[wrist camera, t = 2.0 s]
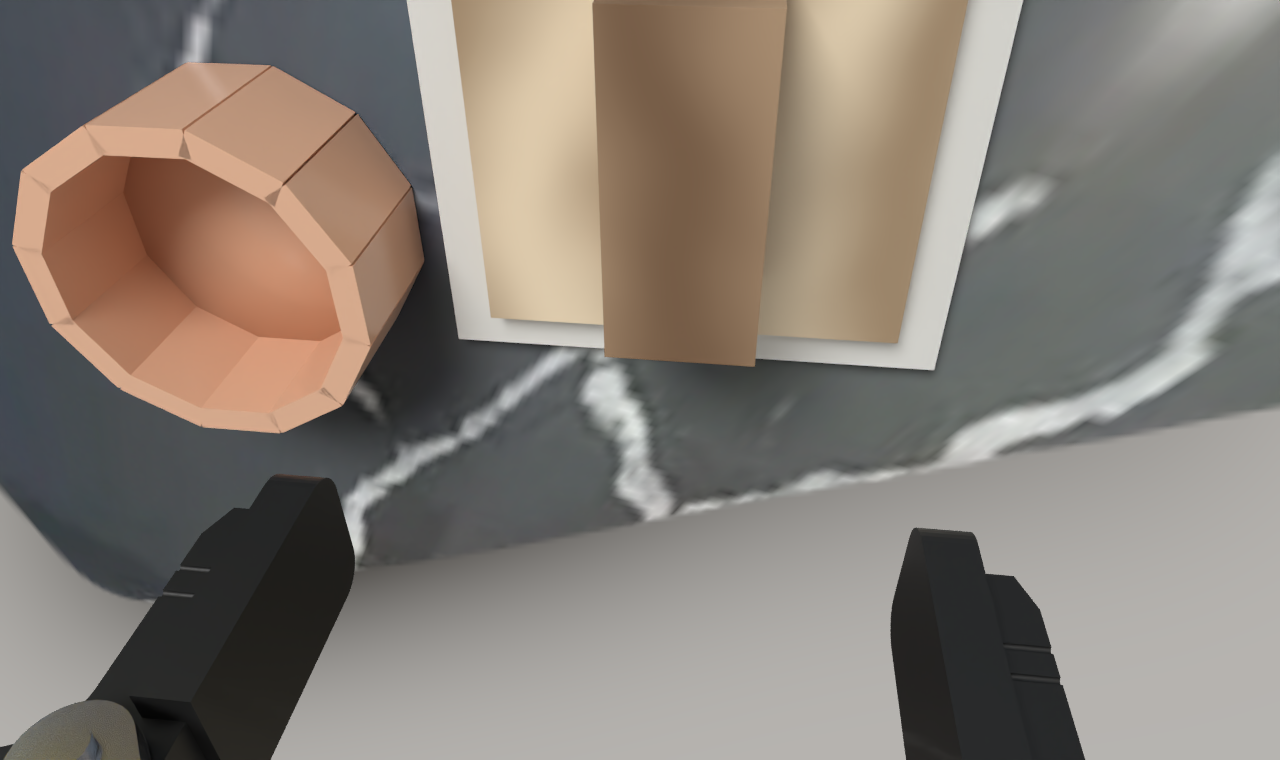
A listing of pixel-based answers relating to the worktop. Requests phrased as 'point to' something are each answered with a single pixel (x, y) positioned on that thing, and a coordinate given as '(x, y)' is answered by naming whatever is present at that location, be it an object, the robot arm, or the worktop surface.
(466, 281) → the mat
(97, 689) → the robot arm
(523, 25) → the lid
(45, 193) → the bowl
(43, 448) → the worktop surface
